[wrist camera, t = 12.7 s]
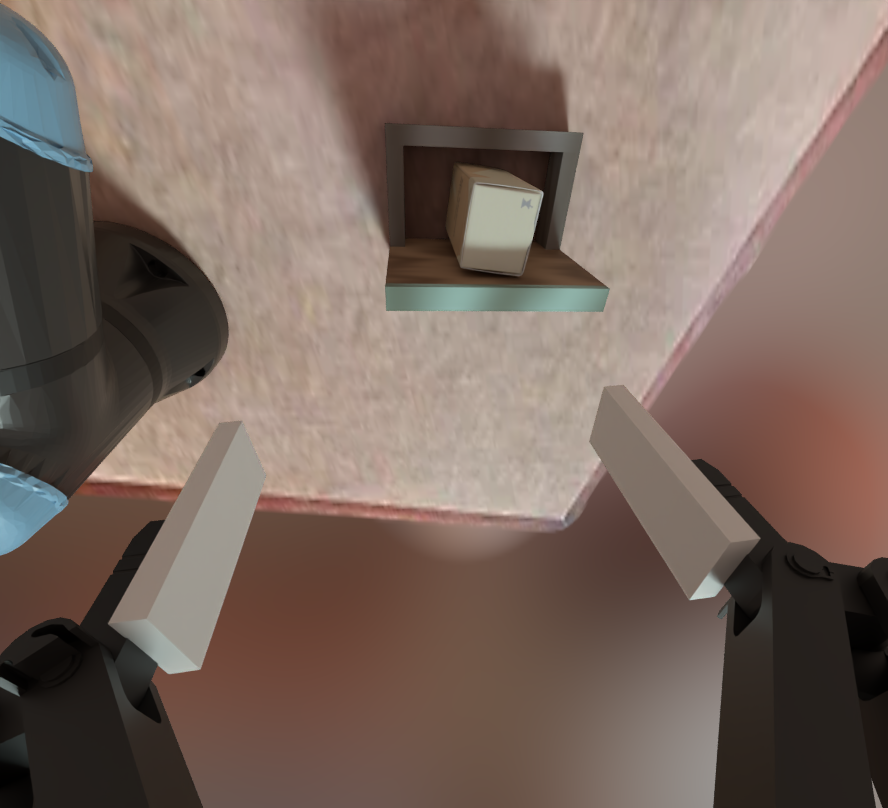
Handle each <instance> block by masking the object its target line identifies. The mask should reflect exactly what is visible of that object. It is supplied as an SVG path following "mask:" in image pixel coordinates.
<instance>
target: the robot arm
mask: <svg viewBox="0 0 888 808" xmlns="http://www.w3.org/2000/svg"><path fill="white" fill-rule="evenodd" d="M89 172H93V164H92V160H91V158H90V157H89V156H88V155H87V154H86V151H85V145H84V140H83V135H82V129H81V124H80V117H79V111H78V104H77V98H76V91H75V86H74V82H73V79H72V76H71V73H70V71H69V69H68V66H67V65H66V63H65V61H64V59H63V58H62V56H61V55H60V53H59V52H58V50H57V49H56V48H55V47H54V45H53V44H52V43H51V42H50V41H49V40H48V39H47V38H46V37H45V36H44V34H43V33H42V32H40V31H39V30H38V29H37V28H36V27H35V26H34V25H33V24H31V23H30V22H29V21H27V20H26V19H25V18H23V17H22V16H21V15H19V14H18V13H16V12H14V11H13V10H11V9H10V8H8V7H6V6H4V5H3V4H1V3H0V555H3V554H6V553H8V552H10V551H12V550H14V549H16V548H17V547H19V546H20V545H22V544H23V543H24V542H26V541H27V540H28V539H29V538H30V537H31V536H32V535H34V534H35V533H36V532H37V531H38V530H39V529H40V528H41V527H42V526H44V525H45V524H46V523H47V522H48V521H49V520H50V519H51V518H52V517H54V516H55V515H56V514H57V513H59V512H60V511H62V510H63V509H64V508H65V507H66V505H68V504H67V503H68V499H69V498H70V497H71V496H72V495H73V494H74V493H75V492H76V490H77V489H78V488H79V487H80V486H81V485H82V484H83V483H84V482H85V480H86V479H87V478H88V477H89V476H90V475H91V474H92V473H93V471H94V470H95V469H96V468H97V467H98V466H99V465H100V464H101V462H102V461H103V460H104V459H105V458H106V457H107V456H108V455H109V454H110V452H111V451H112V450H113V449H114V448H115V447H116V446H117V445H118V443H119V442H120V441H121V440H122V439H123V438H124V437H125V436H126V434H127V433H128V432H129V431H130V430H131V429H132V428H133V427H134V426H135V424H136V423H137V422H138V421H139V420H140V419H141V418H142V417H143V415H144V414H145V413H146V412H147V411H148V410H149V409H150V407H151V406H152V405H153V404H154V403H157V402H159V401H161V400H163V399H166V398H168V397H170V396H172V395H175V394H177V393H179V392H181V391H184V390H186V389H188V388H190V387H192V386H194V385H196V384H197V383H199V382H200V381H202V380H203V379H204V378H206V377H207V376H208V375H209V374H210V372H211V371H212V370H213V369H214V367H215V366H216V365H217V364H218V362H219V361H220V360H221V358H222V356H223V355H224V352H225V350H226V347H227V343H228V335H229V334H228V322H227V317H226V313H225V310H224V307H223V305H222V302H221V300H220V298H219V296H218V294H217V293H216V291H215V289H214V288H213V286H212V285H211V283H210V282H209V281H208V280H207V278H206V277H205V276H204V275H203V273H202V272H201V271H200V270H199V269H198V268H197V267H196V266H195V265H194V264H193V263H192V262H191V261H190V260H189V259H187V258H186V257H185V256H184V255H183V254H181V253H180V252H179V251H177V250H176V249H174V248H173V247H171V246H170V245H168V244H167V243H165V242H163V241H162V240H160V239H158V238H156V237H154V236H152V235H150V234H148V233H146V232H143V231H141V230H138V229H135V228H132V227H129V226H125V225H121V224H116V223H110V222H100V221H93V214H92V202H91V190H90V179H89ZM589 442H590V443H591V445H592V446H593V448H594V450H595V451H596V453H597V454H598V456H599V457H600V459H601V461H602V462H603V464H604V465H605V467H606V469H607V470H608V472H609V473H610V475H611V476H612V478H613V480H614V481H615V483H616V484H617V486H618V487H619V489H620V491H621V492H622V494H623V495H624V497H625V499H626V500H627V502H628V504H629V505H630V507H631V508H632V510H633V511H634V513H635V515H636V516H637V518H638V519H639V521H640V522H641V524H642V526H643V527H644V529H645V530H646V532H647V534H648V535H649V537H650V538H651V540H652V542H653V543H654V545H655V546H656V548H657V550H658V551H659V553H660V554H661V556H662V557H663V559H664V561H665V562H666V564H667V565H668V567H669V569H670V570H671V572H672V573H673V575H674V577H675V578H676V580H677V581H678V583H679V585H680V586H681V588H682V589H683V591H684V592H685V594H686V596H687V597H688V599H689V600H694V599H701V598H708V597H715V596H716V595H717V593H718V592H719V591H720V590H721V588H722V587H723V586H725V587H726V588H727V590H728V591H729V592H730V594H731V595H732V596H731V598H730V599H729V600H728V601H727V602H726V604H725V605H724V606H723V607H722V608H721V610H720V611H719V613H718V616H717V617H718V618H720V619H722V618H723V617H724V616H725V615H726V614H727V627H726V640H725V654H724V668H723V681H722V695H721V709H720V723H719V736H718V750H717V764H716V778H715V791H714V805H713V808H876V806H875V799H874V794H873V788H872V781H873V784H874V786H875V789H876V792H877V794H878V797H879V799H880V802H881V805H882V807H883V808H888V558H883V557H881V558H878V559H875V560H873V561H872V562H871V563H869V564H868V565H867V566H866V567H865V568H861V567H855V566H848V565H843V564H837V563H831V562H828V561H827V560H826V559H824V558H823V557H822V556H820V555H819V554H818V553H816V552H815V551H813V550H811V549H808V548H807V547H805V546H803V545H799V544H795V543H791V542H787V541H786V540H785V539H783V538H782V537H781V536H780V535H779V533H778V532H777V531H776V530H775V529H774V528H773V527H772V526H771V525H770V524H769V523H768V522H767V521H766V520H765V519H764V518H763V517H762V515H761V514H759V512H758V511H757V510H756V509H755V508H754V507H753V506H752V505H751V504H750V503H749V502H748V501H747V500H746V499H745V498H744V497H742V496H741V495H742V494H741V493H740V492H739V491H738V490H737V489H736V488H735V487H734V486H731V483H730V482H729V481H728V480H727V479H726V477H724V475H723V474H722V473H721V472H720V471H719V470H718V469H716V468H714V467H713V466H711V465H710V464H708V463H706V462H705V461H704V460H702V459H698V460H690V459H689V458H688V457H687V456H686V454H685V453H684V452H683V451H682V450H681V449H680V448H679V447H678V446H677V444H676V443H675V442H674V441H673V440H672V439H671V438H670V437H669V436H668V434H667V433H666V432H665V431H664V430H663V429H662V428H661V426H660V425H659V424H658V423H657V422H656V421H655V420H654V419H653V418H652V416H651V415H650V414H649V413H648V412H647V411H646V410H645V409H644V407H643V406H642V405H641V404H640V403H639V402H638V401H637V400H636V398H635V397H634V396H633V395H632V394H631V393H630V392H629V391H628V389H627V388H626V387H625V386H624V385H618V386H607V387H604V389H603V392H602V396H601V400H600V404H599V407H598V411H597V415H596V419H595V422H594V426H593V430H592V434H591V437H590V441H589ZM265 478H266V474H265V471H264V469H263V467H262V465H261V462H260V460H259V458H258V456H257V453H256V451H255V449H254V446H253V444H252V442H251V440H250V437H249V435H248V433H247V431H246V428H245V426H244V424H243V422H242V421H234V422H224V423H219V424H218V426H217V428H216V430H215V432H214V433H213V435H212V437H211V439H210V441H209V442H208V444H207V446H206V448H205V450H204V451H203V453H202V455H201V457H200V459H199V460H198V462H197V464H196V466H195V468H194V469H193V471H192V473H191V475H190V477H189V478H188V480H187V482H186V484H185V486H184V487H183V489H182V491H181V493H180V495H179V496H178V498H177V500H176V502H175V504H174V505H173V508H172V509H171V511H170V513H169V515H168V516H167V518H166V520H159V521H151V522H149V523H148V524H147V525H146V526H145V527H144V528H143V529H142V530H141V531H140V532H139V533H138V534H137V535H136V536H135V537H134V538H133V539H132V541H131V542H130V544H129V546H128V547H127V549H126V550H125V552H124V554H123V556H122V560H119V562H118V564H117V565H116V567H115V569H114V570H113V575H110V577H109V578H108V580H107V582H106V583H105V585H104V587H103V588H102V590H101V592H100V593H99V595H98V597H97V598H96V600H95V601H94V603H93V605H92V606H91V608H90V610H89V611H88V613H87V615H86V616H85V618H84V620H83V621H82V623H81V624H80V626H79V625H78V624H76V623H75V622H74V621H72V620H71V619H66V618H61V617H60V618H56V619H51V620H47V621H45V622H43V623H40V624H38V625H36V626H34V627H32V628H30V629H29V630H28V631H26V632H25V633H24V634H22V635H21V636H19V637H18V638H17V639H15V640H14V641H13V642H12V643H11V644H10V645H9V646H8V647H7V648H6V649H5V650H4V651H3V653H2V654H1V655H0V808H203V806H202V804H201V801H200V798H199V796H198V793H197V791H196V788H195V786H194V783H193V781H192V778H191V775H190V773H189V770H188V768H187V765H186V762H185V760H184V757H183V755H182V752H181V750H180V747H179V744H178V742H177V739H176V737H175V734H174V731H173V729H172V726H171V724H170V721H169V719H168V716H167V714H166V711H165V709H164V706H163V703H162V701H161V698H160V696H159V693H158V690H157V688H156V686H155V685H154V683H153V682H152V681H151V680H152V677H153V675H154V672H155V670H156V668H157V665H158V666H159V667H161V668H162V669H163V670H164V671H166V672H167V673H168V674H172V673H179V672H187V671H193V670H200V669H201V666H202V663H203V660H204V657H205V654H206V651H207V648H208V645H209V643H210V640H211V636H212V633H213V631H214V628H215V625H216V622H217V619H218V616H219V613H220V610H221V607H222V604H223V601H224V598H225V595H226V592H227V590H228V587H229V584H230V581H231V578H232V575H233V572H234V569H235V566H236V563H237V560H238V557H239V554H240V551H241V548H242V545H243V543H244V540H245V536H246V534H247V531H248V528H249V525H250V522H251V519H252V516H253V513H254V510H255V507H256V504H257V501H258V498H259V495H260V493H261V490H262V487H263V484H264V481H265ZM871 779H872V780H871Z"/></svg>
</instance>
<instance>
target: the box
mask: <svg viewBox="0 0 888 808" xmlns="http://www.w3.org/2000/svg"><path fill="white" fill-rule="evenodd" d="M542 198H543V191H542V190H540V189H538V188H536V187H534V186H532V185H530V184H528V183H527V182H525V181H523V180H521V179H519V178H517V177H516V176H514V175H512V174H511V173H509V172H507V171H505V170H503V169H498V168H493V167H488V166H482V165H476V164H468V163H460V162H455V163H454V167H453V173H452V180H451V188H450V195H449V202H448V210H447V218H446V230H447V233H448V235H449V238H450V241H451V243H452V246H453V249H454V251H455V254H456V257H457V259H458V262H459V265H460V267H461V268H464V269H470V270H476V271H482V272H489V273H496V274H503V275H511V276H521V275H522V274H523V272H524V269H525V265H526V262H527V258H528V255H529V251H530V247H531V243H532V239H533V235H534V231H535V227H536V223H537V219H538V215H539V211H540V207H541V202H542Z"/></svg>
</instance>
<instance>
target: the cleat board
mask: <svg viewBox="0 0 888 808" xmlns="http://www.w3.org/2000/svg"><path fill="white" fill-rule="evenodd" d="M385 138H386V163H387V187H388V211H389V235H390V250H389V259H388V267H387V276H386V284H385V293H386V311H574V312H603V310H604V307H605V303H606V300H607V297H608V293H609V290H610V289H609V288H608V287H607V286H605V285H604V284H603V283H602V282H600V281H599V280H598V279H596V278H595V277H594V276H593V275H591V274H590V273H589V272H587V271H586V270H585V269H584V268H582V267H581V266H580V265H578V264H577V263H576V262H575V261H573V260H572V259H571V258H570V257H568V256H567V255H566V254H564V253H563V252H562V251H561V250H560V246H561V241H562V236H563V231H564V226H565V221H566V216H567V211H568V206H569V202H570V197H571V192H572V187H573V182H574V177H575V172H576V167H577V162H578V158H579V153H580V148H581V143H582V138H583V133H577V132H557V131H536V130H515V129H494V128H474V127H453V126H432V125H412V124H391V123H385ZM403 145H408V146H431V147H454V148H477V149H500V150H523V151H546V152H550V158H549V164H548V170H547V176H546V182H545V188H544V194H543V200H542V206H541V212H540V218H539V224H538V230H537V235H536V241H532V243H531V247H530V251H529V255H528V258H527V262H526V265H525V269H524V272H523V274H522V275H521V276H511V275H503V274H496V273H489V272H482V271H476V270H470V269H464V268H461V267H460V265H459V262H458V259H457V257H456V254H455V251H454V249H453V246H452V243H451V241H450V239H423V238H405V213H404V161H403Z"/></svg>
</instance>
